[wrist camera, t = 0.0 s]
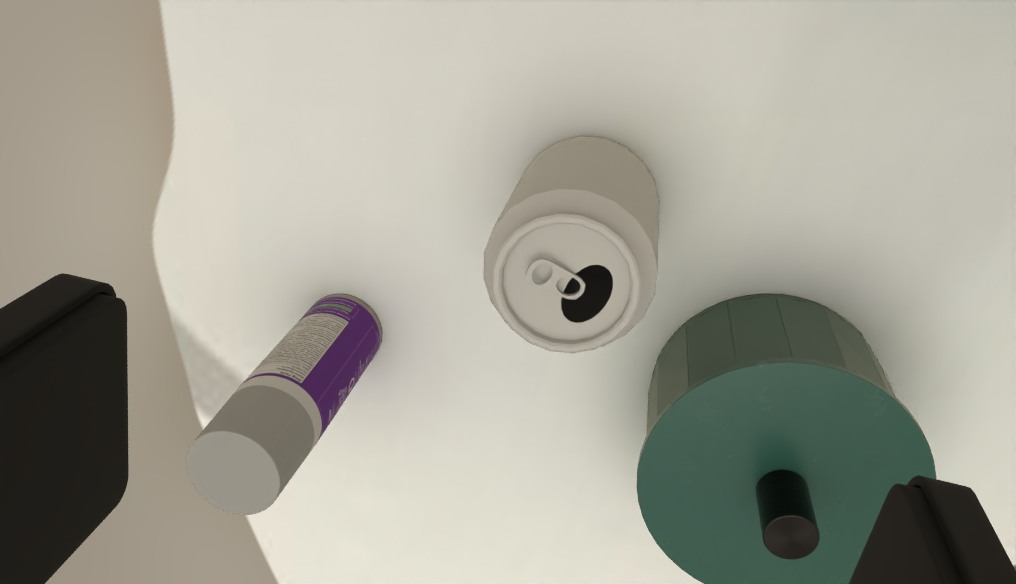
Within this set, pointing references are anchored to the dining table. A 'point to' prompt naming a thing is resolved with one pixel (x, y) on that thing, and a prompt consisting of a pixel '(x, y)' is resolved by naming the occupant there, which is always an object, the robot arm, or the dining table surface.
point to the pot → (757, 343)
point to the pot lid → (775, 471)
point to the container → (283, 407)
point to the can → (576, 247)
